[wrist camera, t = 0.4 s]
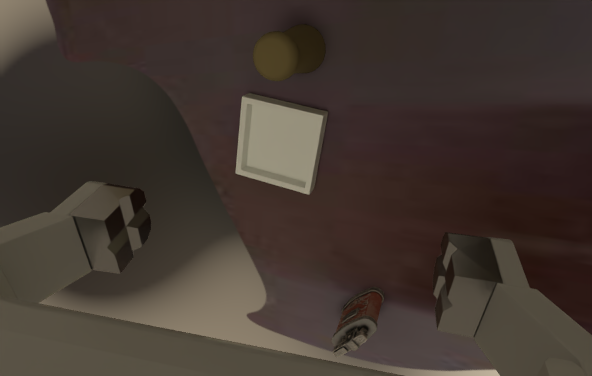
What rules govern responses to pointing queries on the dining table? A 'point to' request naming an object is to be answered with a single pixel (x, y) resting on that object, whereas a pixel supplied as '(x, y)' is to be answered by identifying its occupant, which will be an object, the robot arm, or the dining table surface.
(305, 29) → the cork
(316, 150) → the tray
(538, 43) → the dining table surface
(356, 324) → the reddish labelled container
